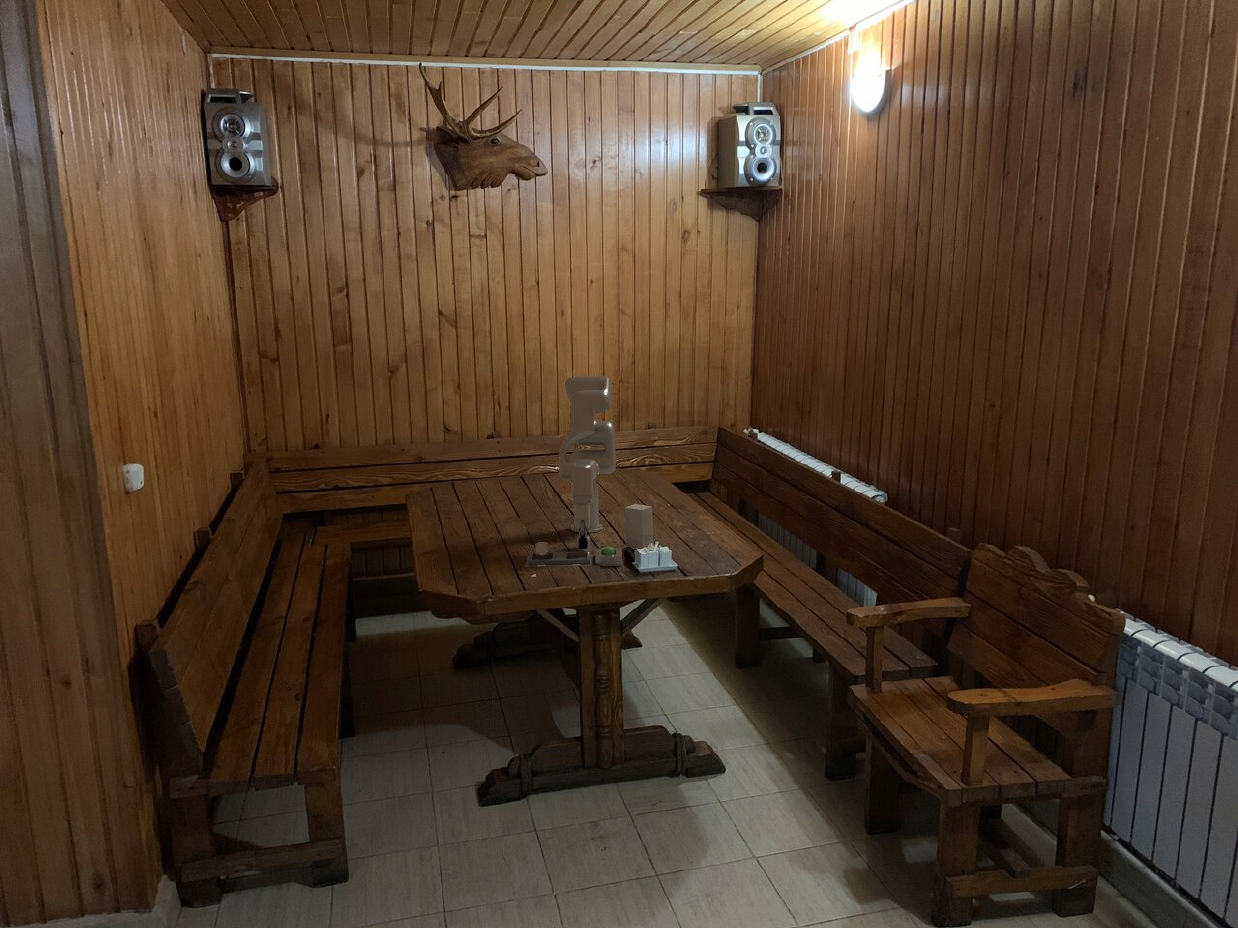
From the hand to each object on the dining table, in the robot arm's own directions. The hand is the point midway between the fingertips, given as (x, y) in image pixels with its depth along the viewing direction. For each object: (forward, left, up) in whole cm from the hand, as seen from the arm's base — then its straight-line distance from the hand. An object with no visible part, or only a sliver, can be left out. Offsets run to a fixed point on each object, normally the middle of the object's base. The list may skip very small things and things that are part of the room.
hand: (583, 545), depth 321 cm
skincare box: (-5, +20, -3) cm, 21 cm away
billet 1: (+11, -14, -2) cm, 18 cm away
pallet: (+11, -8, -3) cm, 14 cm away
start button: (+11, +9, -1) cm, 14 cm away
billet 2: (0, 0, -3) cm, 3 cm away
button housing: (+11, +9, -3) cm, 14 cm away
